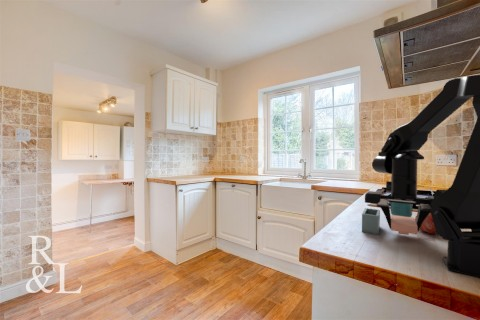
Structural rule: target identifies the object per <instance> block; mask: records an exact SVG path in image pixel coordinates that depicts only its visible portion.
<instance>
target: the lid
mask: <svg viewBox="0 0 480 320" xmlns="http://www.w3.org/2000/svg"><path fill="white" fill-rule="evenodd" d="M390 215H391V229H390V231H392V232H393V231H395V232H397V233H398V234H399V235H404V236H405V235H407V236H409V234H412V235H418V233H417V232H419V231H418V227H417V224H416V221H415V217H413V216H411V217H404V216H396V215H392V214H390Z"/></svg>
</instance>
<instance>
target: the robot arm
mask: <svg viewBox="0 0 480 320" xmlns="http://www.w3.org/2000/svg"><path fill="white" fill-rule="evenodd" d="M470 99H472V101H471V103H472V106H473V109H474V113H475V114H476V122H475V124H474V126H473V129H472V132H471V133H470V138H469V139H468V142H467V144H466V147H465V150H464V153H463V156H462V157H461V161H460V164H459V166H458V169H457V172H456V173H455V176H454V179H453V181H452V185H451V186H450V187H448V188H447V189H436V190H435V192H434V193H433V194H434V195H433V196H432V195H427V198H421V197H420V198H419V197H418V195H417V194H418V160H421V161H422V160H425V156H423V155H422V154H421V153H420V152H419V150H420V149H421V148H422V147H423V146H424V145H425V144H426V143H427V141H428V139H429V134H430V133H431V132H432V131H433V130H434V129H436V128H437V127H438V126H439V125H441V124H442V123H443V122H444V121H445V120H447V118H449V117H450V116H451V115H452V114H453V113H454V112H456V111H457V110H459V108H461V107H462V106H463V105H464V104H466V102H467V101H469V100H470ZM371 166H372V169H373V170H374V171H375V172H376V173H381V174H389V175H391V176H392V182H391V181H389V180H388V181H385V185H386V186H385V192H386V193H390V194H391V195H389V194H388V195H387V194H382V192H381V191H373V190H372V191H371V190H369V191H367V192H366V193H365V194H364V203H367V204H376V207H377V208H380V210H381V211H382V212H383V214H384V217H385V219H386V222H387V224H388V228H389V229H390V230H391V215H392V214H391V211H390V210H391V209H390V202H395V203H405V204H413V205H417V214H416V216H417V219H416V224H417V227H418V232H419V230H421V229H420V227H421V225H422V223H423V221H424V220H425V218H426V217H427V216H428V214H429V213H431V215H432V219H433V223H434V226H435V230H436V233H437V234H436V236H439V237H441V238H442V240H445V241H447V256H445V255H444V256H442V260H443V262H444V264H445V267H446V269H447V270H448V271H451V272H455V273H461V274H464V275H468V276H474V277H477V278H480V74H474V75H467V76H463V77H454V78H452V79H449V80H448V81H447V82H446V83H445V84H444V85H443V88H442V89H441V91H439V93H438V94H437V95H435V97H434V98H432V99H431V101H430V102H429V103H428V104H427V105H426V106H424V108H423V109H422V110H421V111H420V112H419V113H418V114H416V115H415V117H414V118H413V119H412V120H411V121H409V122H408V123H405V124H403V125H400V126H399V127H397V128H395V129H394V130H393V131H391V132H390V133H389V135H388V136H387V139H386V141H385V142H384V145H383V146H382V148H381V151H379V152H378V155H377V156H375V157H374V159H373V160H372V162H371ZM464 230H465V231H464ZM466 230H469V231H466ZM470 230H471V231H470ZM418 232H417V234H418Z"/></svg>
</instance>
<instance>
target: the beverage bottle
mask: <svg viewBox="0 0 480 320" xmlns="http://www.w3.org/2000/svg"><path fill="white" fill-rule="evenodd" d="M390 182H392V175H391V176H390ZM389 196H391V193H390V195H389ZM413 205H414V204H405V203H395V202H389V207H390V215H396V216H404V217H413Z"/></svg>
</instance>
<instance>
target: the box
mask: <svg viewBox="0 0 480 320" xmlns="http://www.w3.org/2000/svg"><path fill="white" fill-rule="evenodd" d="M380 216H381V209H376V208H367V207H365V208H364V209H363V211H362V213H361V233H366V234H372V235H377V236H378V235H379V232H380V228H381V226H380V225H381V224H380V223H381V222H380V221H381V218H380Z"/></svg>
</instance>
